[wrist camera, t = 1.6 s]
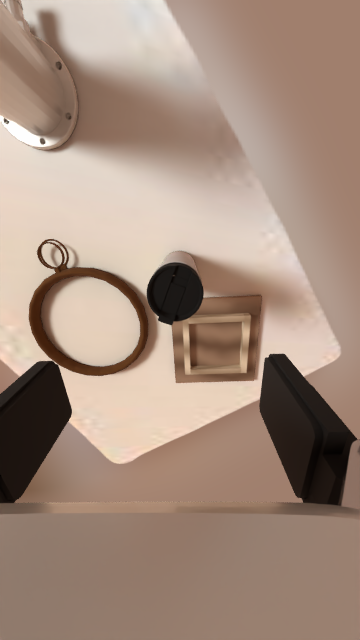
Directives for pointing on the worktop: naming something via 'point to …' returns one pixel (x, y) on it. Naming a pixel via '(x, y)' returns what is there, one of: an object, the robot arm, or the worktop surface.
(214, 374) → the walnut coaster board
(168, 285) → the travel mug
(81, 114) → the worktop surface
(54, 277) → the decorative ring
